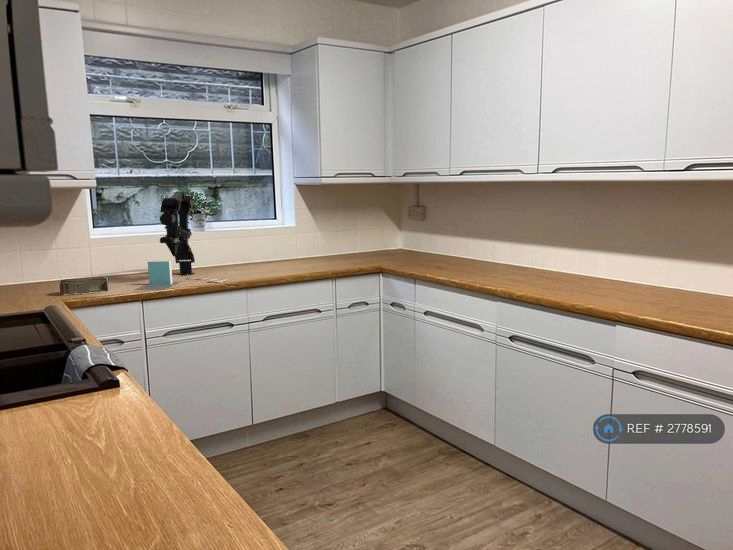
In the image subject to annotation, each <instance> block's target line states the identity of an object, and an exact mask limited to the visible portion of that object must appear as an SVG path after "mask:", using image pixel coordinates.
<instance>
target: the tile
mask: <svg viewBox="0 0 733 550" xmlns="http://www.w3.org/2000/svg"><path fill="white" fill-rule="evenodd" d="M172 269H173V268H172V260H149V261H147V274H148V284H149V285H172V284H173V283H172V282H173V271H172Z"/></svg>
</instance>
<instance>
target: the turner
mask: <svg viewBox="0 0 733 550" xmlns="http://www.w3.org/2000/svg"><path fill="white" fill-rule="evenodd" d="M186 279H187V280H188V281H205V282H206V283H211V282H219V283H218V284H221V283H224V282H223V281H225V282H227V281H226V280H228V281H229V279H227V278H225V279H224V278H206V277H205V278H203V277H185V280H186ZM220 282H221V283H220Z"/></svg>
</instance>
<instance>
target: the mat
mask: <svg viewBox="0 0 733 550" xmlns="http://www.w3.org/2000/svg"><path fill="white" fill-rule="evenodd" d="M172 283H173V284H172V285H149V283H148V284H145V285H142V286H140V287H137V288H135V289H134V291H165V290H168V289H170V288H172V287H174V286H176V285H177V284H179V283H181V282H180V281H179V282H178V281H177V282H176V281H175V282H173V281H172Z"/></svg>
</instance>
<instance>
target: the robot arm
mask: <svg viewBox="0 0 733 550" xmlns="http://www.w3.org/2000/svg"><path fill="white" fill-rule="evenodd" d="M160 204H161V205H160V206H161V207H160V213H162V214H161V215H160V217H159V222H160V223H161V224H162V225H163V226H164V229H165V230H166V234H165V236H161V237H160V238H159V244H164V245H166V246H167V249H168V250H169V252H170V253H171V255H172V257H174V259H175V264H179V266H178V268H179V272H178V273H177V275H179V274H181V275H180V276H188V275H187V274H190V275H195V272H193V271H192V263H193V264H194V263H195V262H196V261H195V260H196V259H195V256H194V253H193V251H192V248H191V246H190V244H189V239H191V236H192V231H191V228H189V216H190V215H191V214H192V209H193V207H194V205H193V201H192V198H191V197H190V196H189V195H188V194H186V192H184V191H175V192H174V193H173V194H172V195H171V196H170V197H163V199H162V201H161V203H160Z"/></svg>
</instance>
